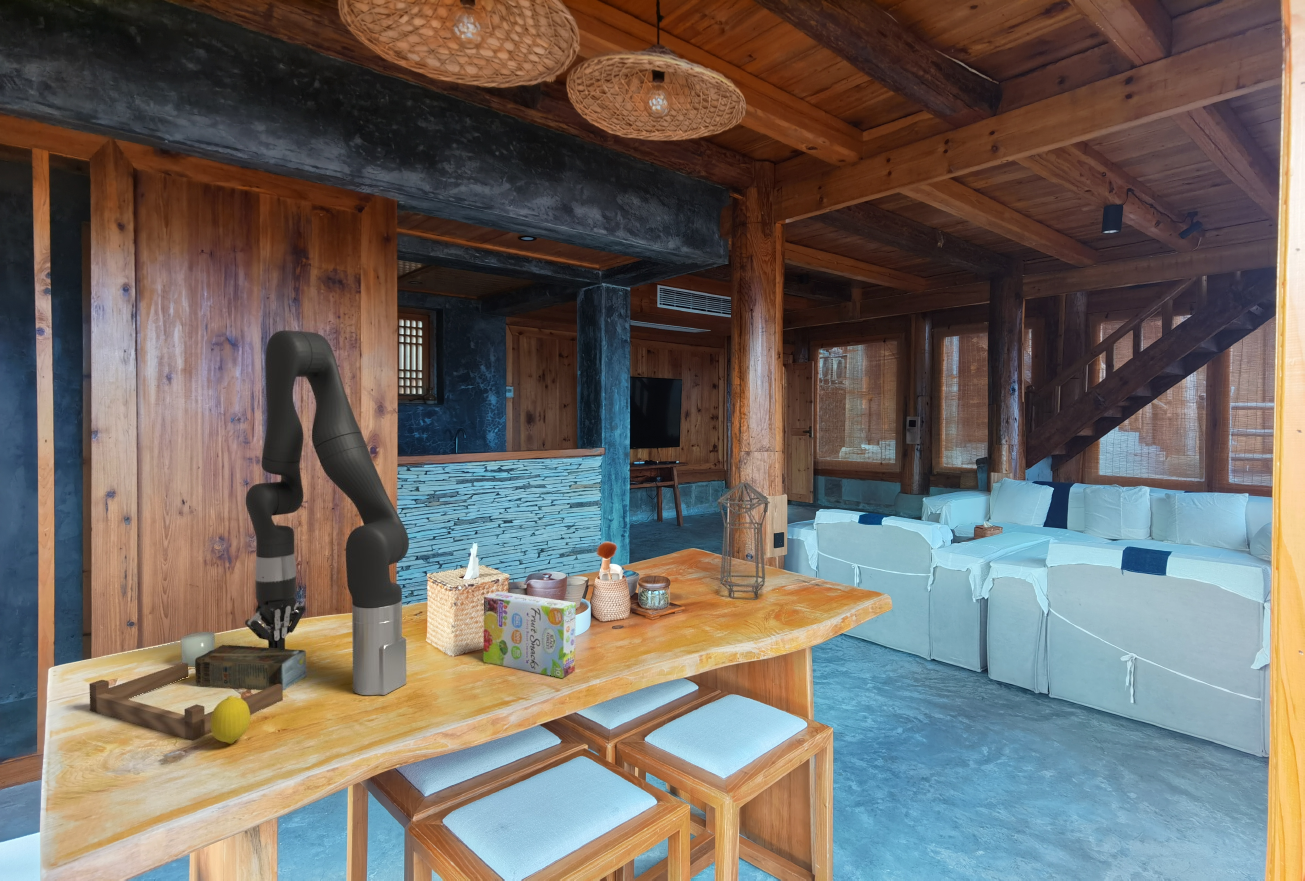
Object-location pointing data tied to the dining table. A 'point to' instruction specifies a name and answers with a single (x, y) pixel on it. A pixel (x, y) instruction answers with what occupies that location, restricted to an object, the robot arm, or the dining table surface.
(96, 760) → the dining table surface
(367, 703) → the dining table surface
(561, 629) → the snack box
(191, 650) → the grey rounded cylinder
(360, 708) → the dining table surface
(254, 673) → the beverage carton
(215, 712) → the lemon
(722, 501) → the geometric lantern
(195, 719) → the frame
